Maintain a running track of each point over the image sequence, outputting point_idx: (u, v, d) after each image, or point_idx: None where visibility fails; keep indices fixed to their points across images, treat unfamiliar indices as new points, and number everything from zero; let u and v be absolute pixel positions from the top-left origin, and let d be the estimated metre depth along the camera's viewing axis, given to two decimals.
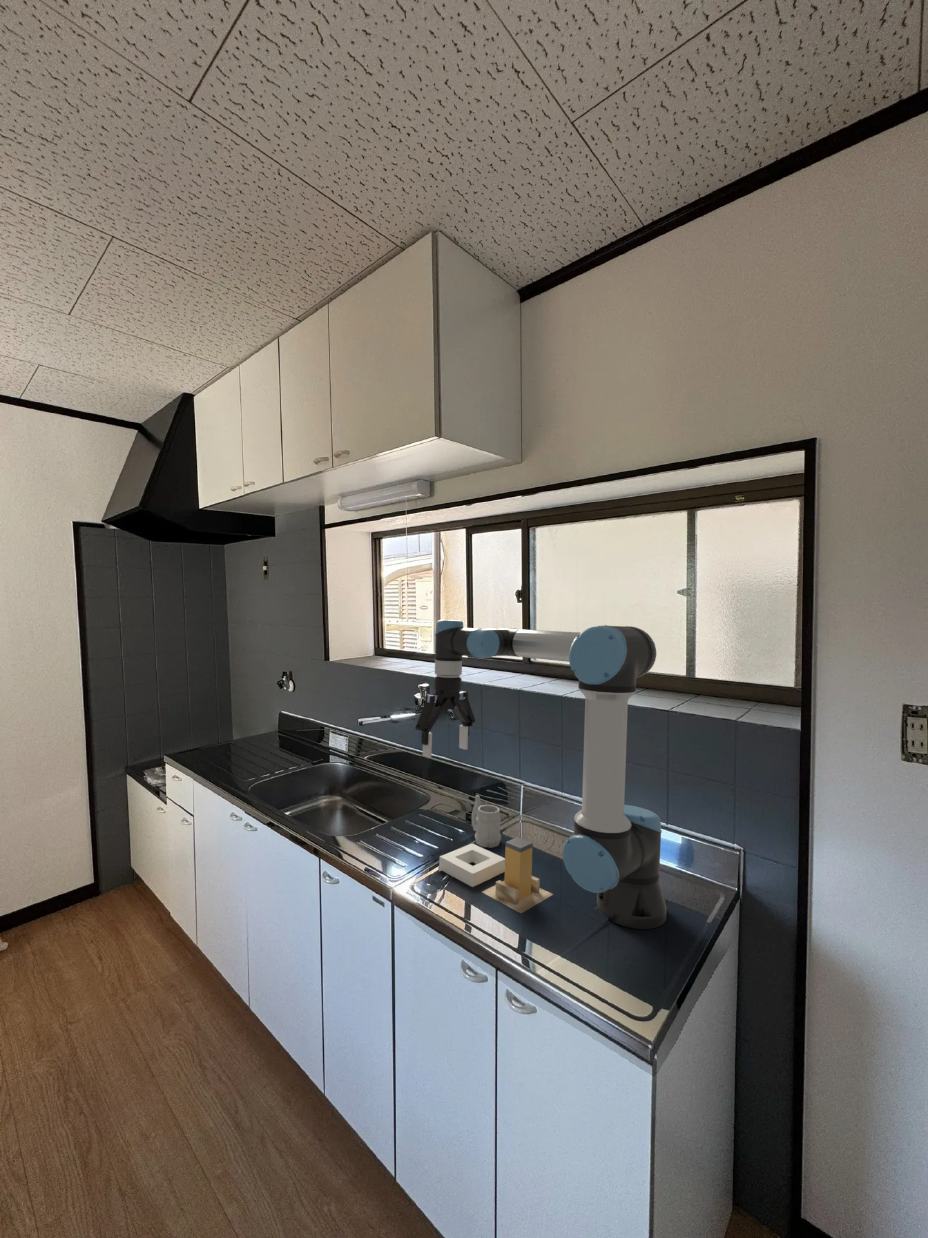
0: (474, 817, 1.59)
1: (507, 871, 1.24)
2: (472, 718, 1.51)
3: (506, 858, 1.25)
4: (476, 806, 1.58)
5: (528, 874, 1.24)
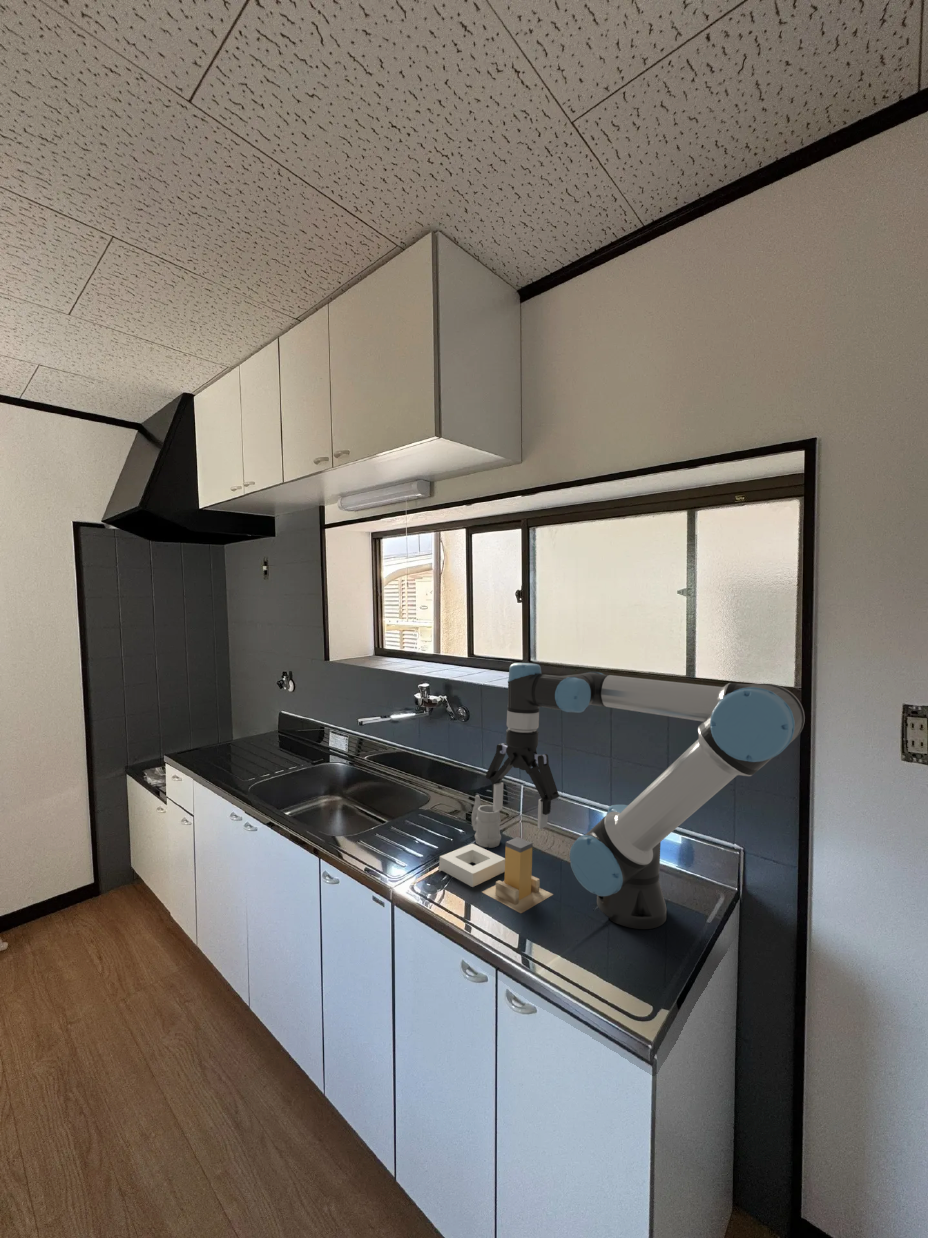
0: (474, 817, 1.59)
1: (507, 871, 1.24)
2: (548, 793, 1.18)
3: (506, 858, 1.25)
4: (476, 806, 1.58)
5: (528, 874, 1.24)
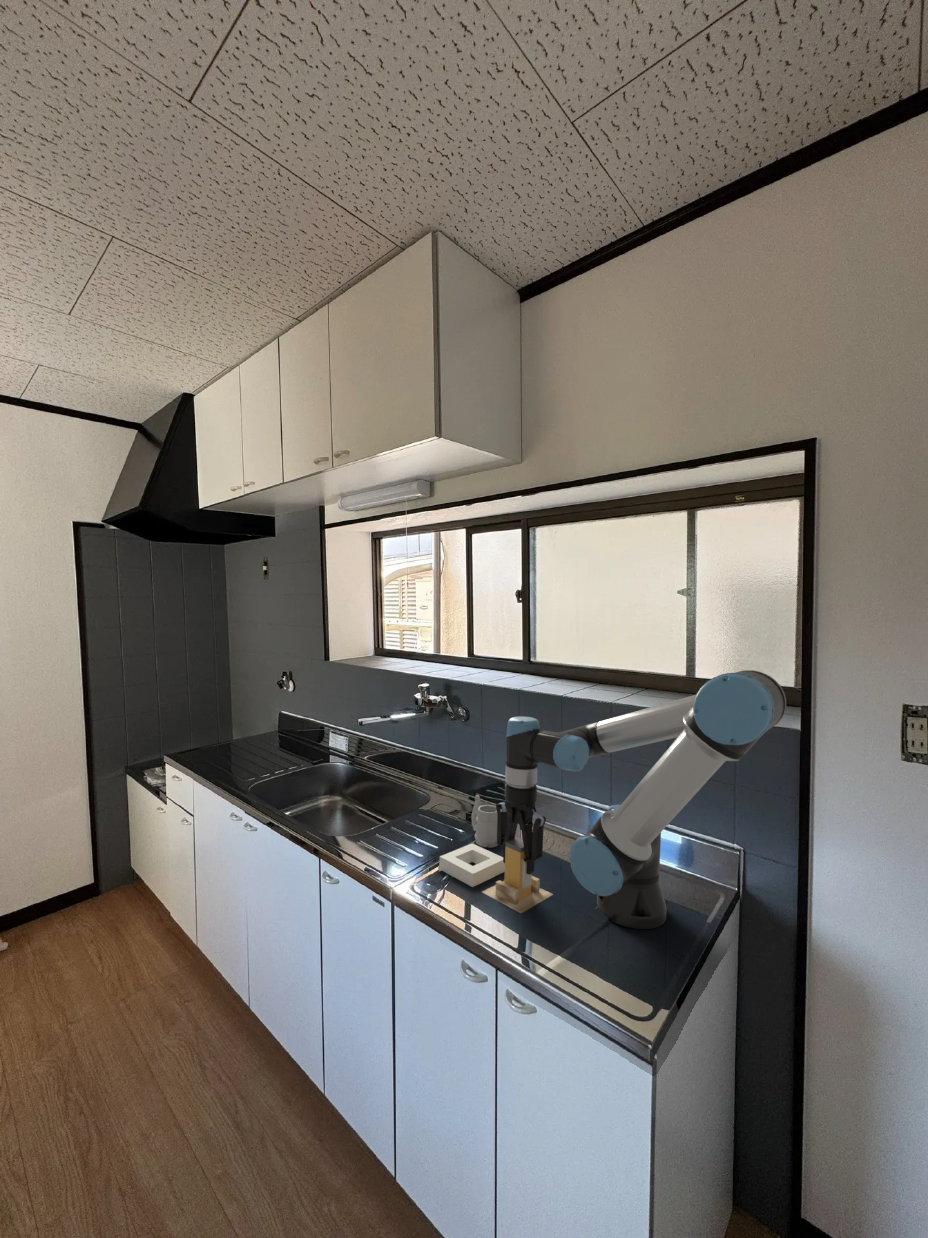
0: (474, 817, 1.59)
1: (507, 871, 1.24)
2: (533, 854, 1.20)
3: (506, 858, 1.25)
4: (476, 806, 1.58)
5: None
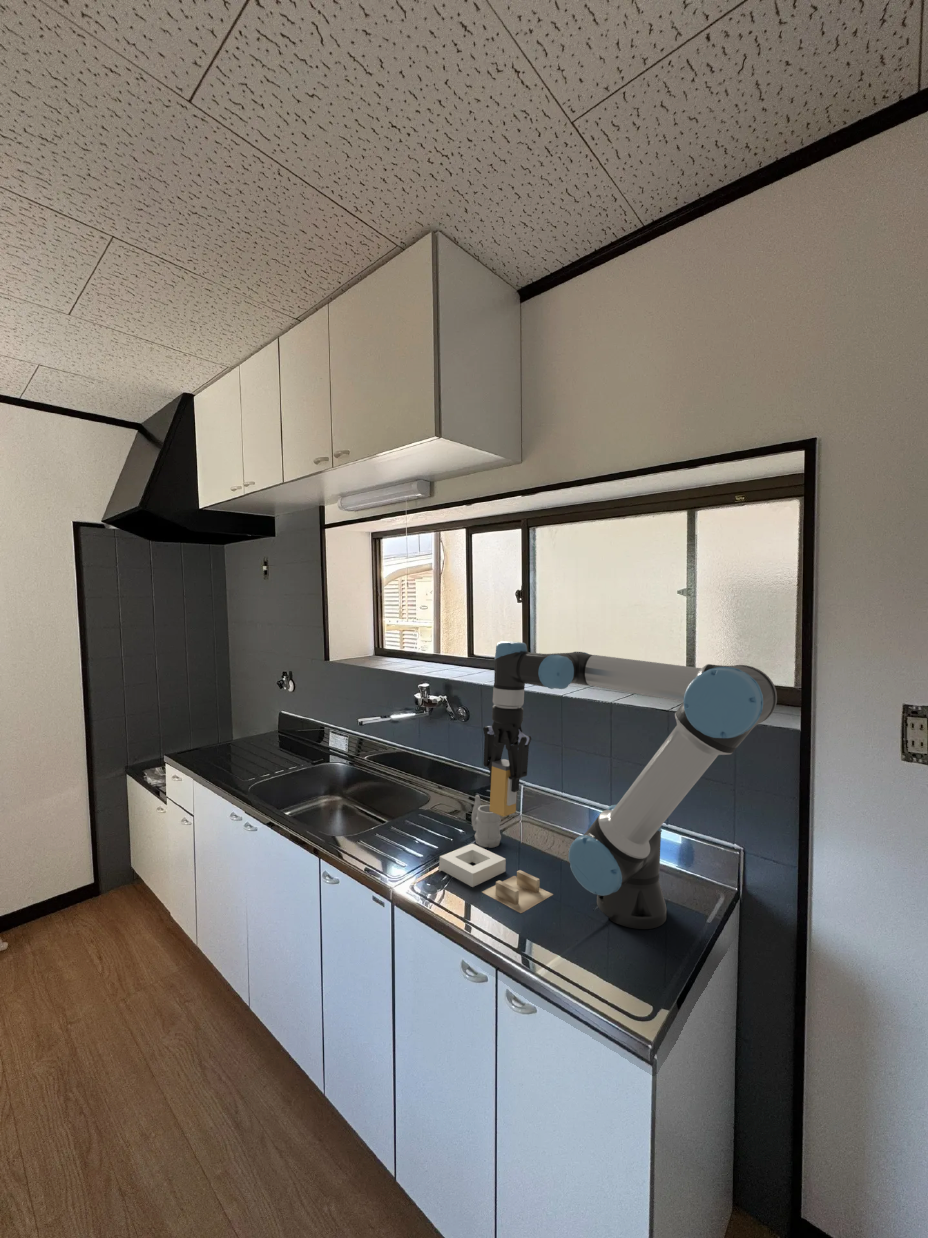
0: (474, 817, 1.59)
1: (493, 790, 1.28)
2: (518, 771, 1.24)
3: (492, 777, 1.28)
4: (476, 806, 1.58)
5: None
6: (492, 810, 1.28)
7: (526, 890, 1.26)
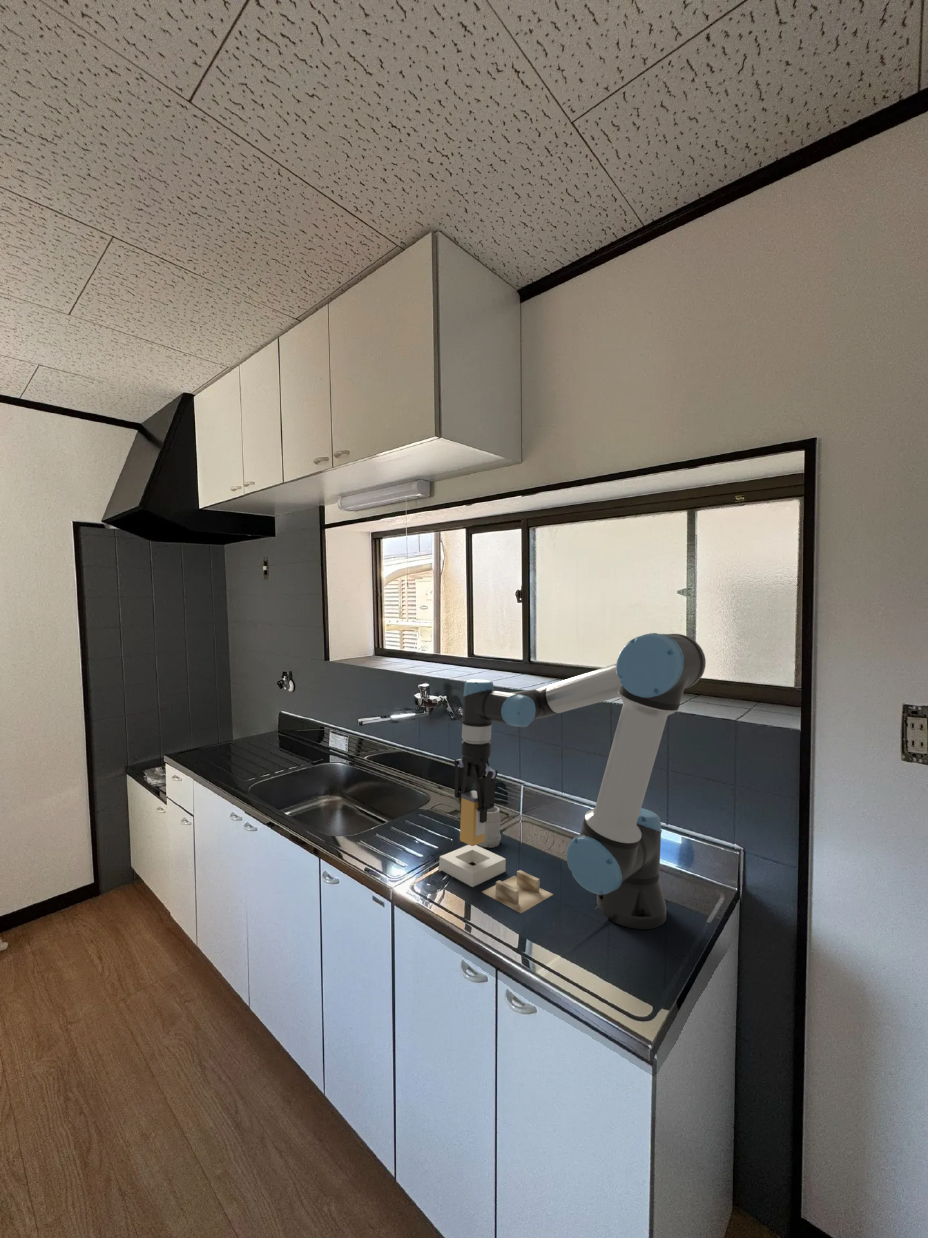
0: None
1: (462, 820, 1.35)
2: (485, 803, 1.31)
3: (462, 808, 1.35)
4: None
5: None
6: (462, 839, 1.35)
7: (526, 890, 1.26)
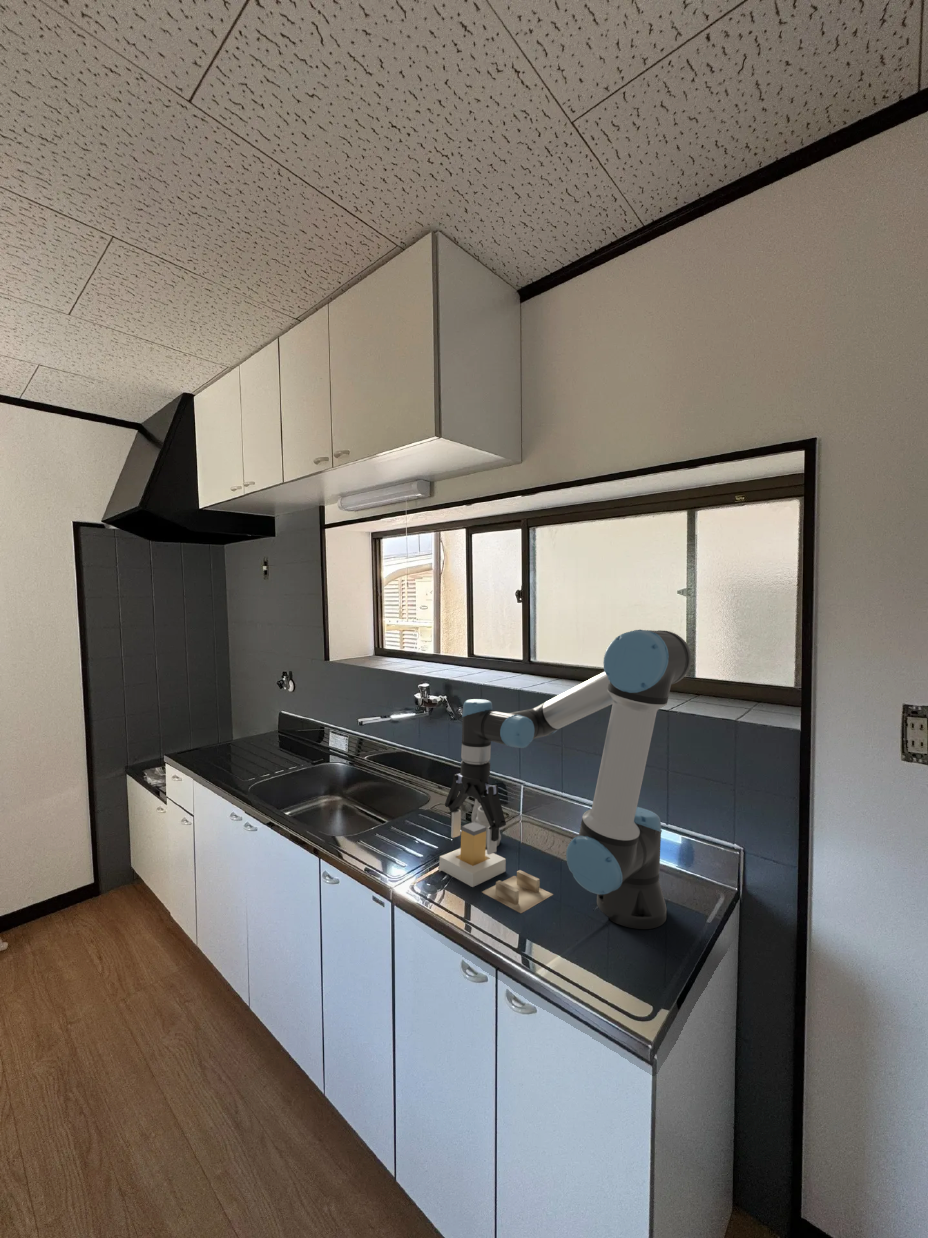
0: (474, 817, 1.59)
1: (462, 853, 1.35)
2: (496, 821, 1.28)
3: (462, 841, 1.35)
4: (476, 806, 1.58)
5: (482, 856, 1.35)
6: None
7: (526, 890, 1.26)
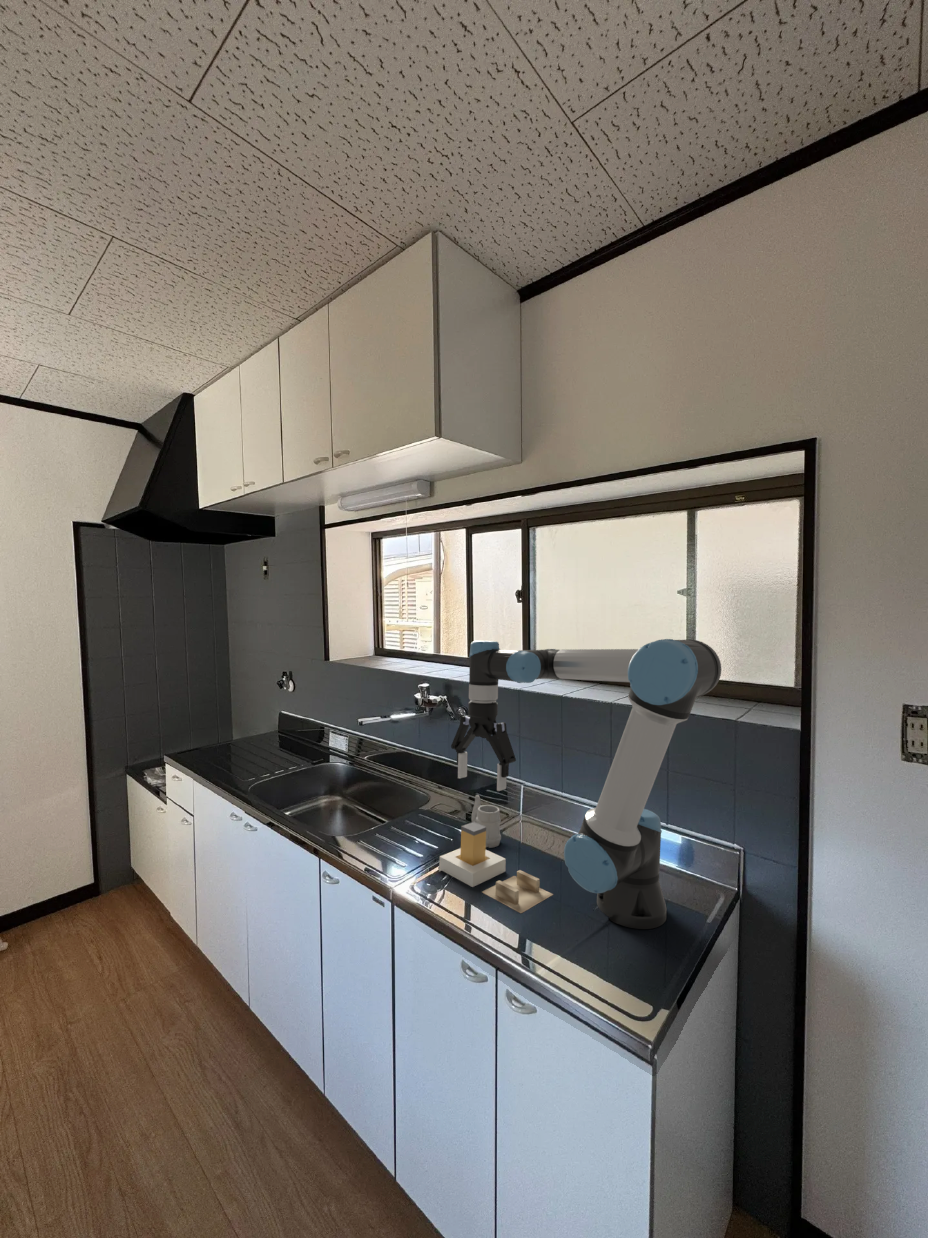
0: (474, 817, 1.59)
1: (462, 853, 1.35)
2: (506, 757, 1.29)
3: (462, 841, 1.35)
4: (476, 806, 1.58)
5: (482, 856, 1.35)
6: None
7: (526, 890, 1.26)
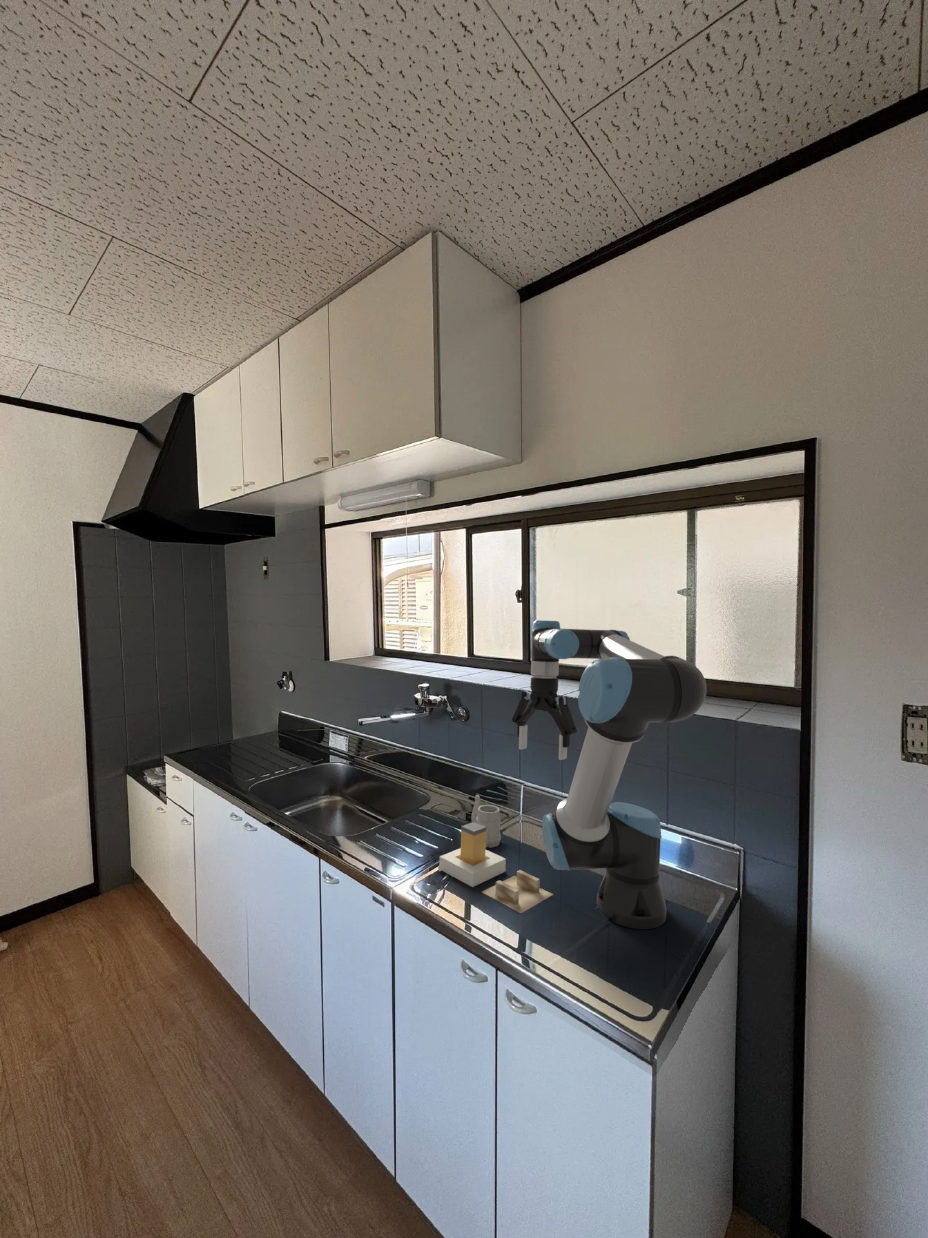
0: (474, 817, 1.59)
1: (462, 853, 1.35)
2: (568, 728, 1.38)
3: (462, 841, 1.35)
4: (476, 806, 1.58)
5: (482, 856, 1.35)
6: None
7: (526, 890, 1.26)
